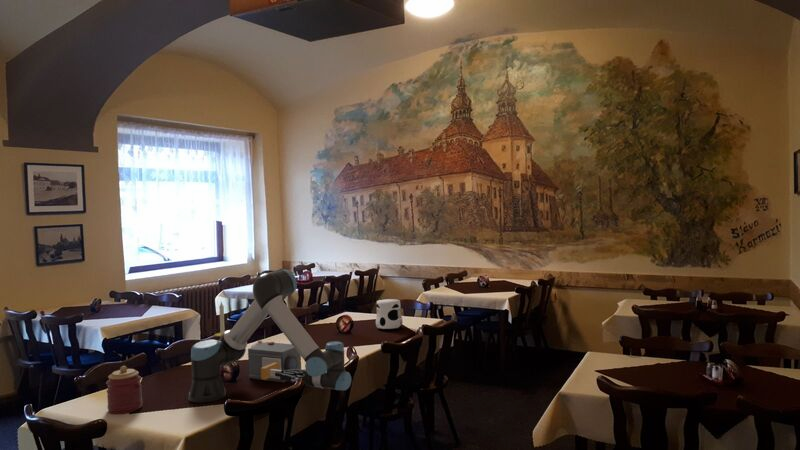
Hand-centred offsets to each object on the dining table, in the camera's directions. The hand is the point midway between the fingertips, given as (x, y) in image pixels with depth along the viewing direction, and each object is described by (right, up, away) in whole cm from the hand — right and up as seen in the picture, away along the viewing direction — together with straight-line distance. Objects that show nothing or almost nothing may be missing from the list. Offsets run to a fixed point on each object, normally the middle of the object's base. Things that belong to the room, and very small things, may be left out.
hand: (271, 372), depth 251 cm
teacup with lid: (-15, -7, +47) cm, 50 cm away
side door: (-4, -6, +7) cm, 10 cm away
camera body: (-3, -7, +22) cm, 23 cm away
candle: (-36, -8, +48) cm, 60 cm away
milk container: (+50, -2, +118) cm, 128 cm away
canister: (-56, -11, -17) cm, 59 cm away
